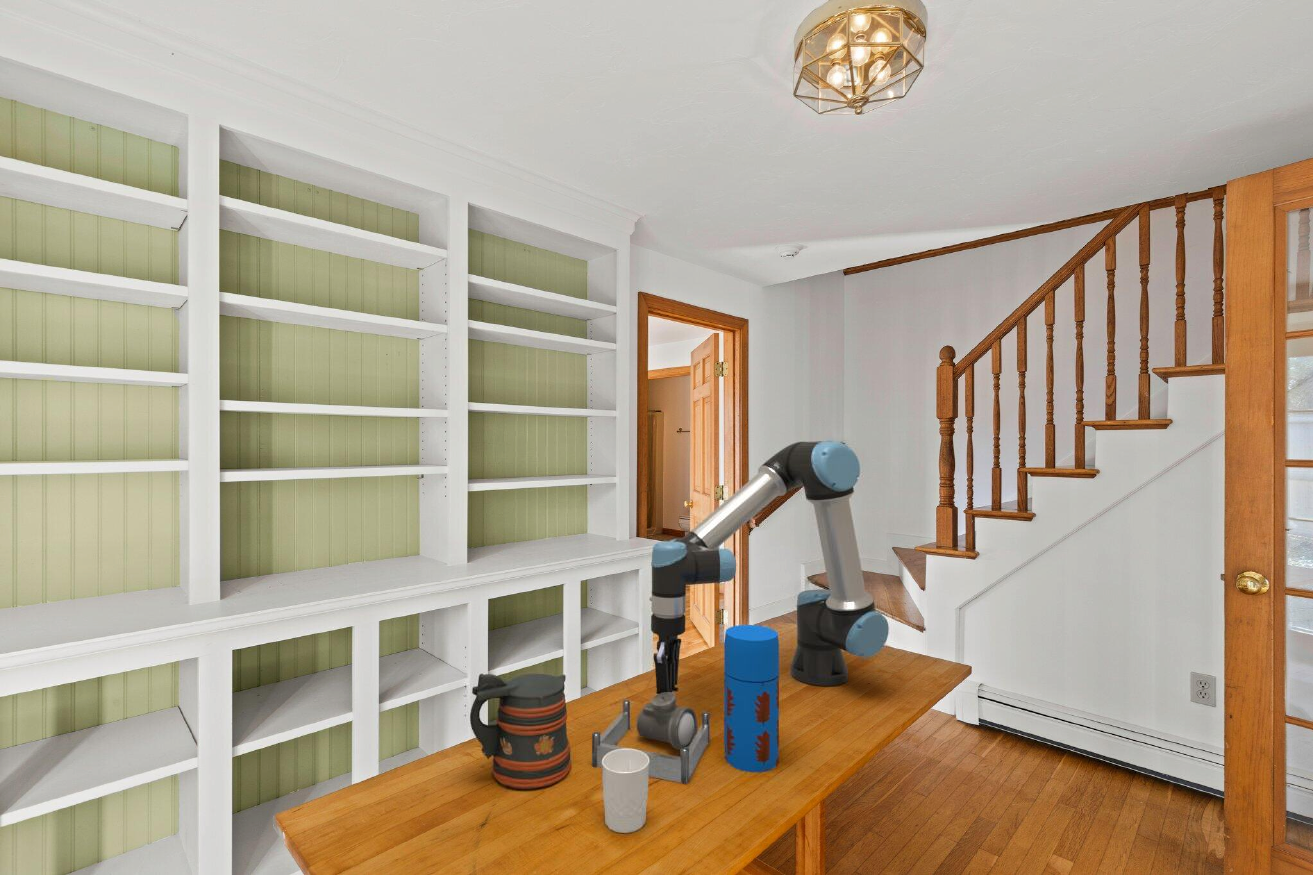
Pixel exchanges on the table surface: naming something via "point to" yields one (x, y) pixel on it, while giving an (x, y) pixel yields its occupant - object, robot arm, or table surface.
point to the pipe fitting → (667, 721)
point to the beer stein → (524, 729)
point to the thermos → (751, 697)
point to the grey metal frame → (658, 763)
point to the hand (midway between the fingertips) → (666, 722)
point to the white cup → (625, 789)
